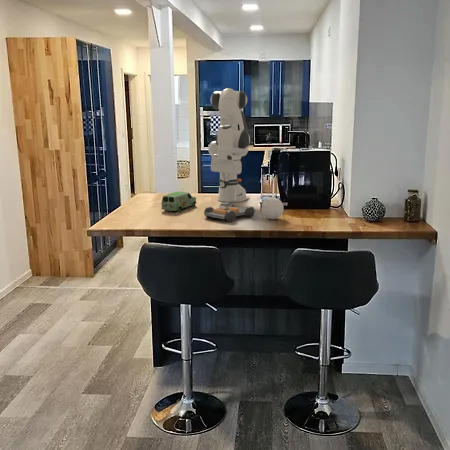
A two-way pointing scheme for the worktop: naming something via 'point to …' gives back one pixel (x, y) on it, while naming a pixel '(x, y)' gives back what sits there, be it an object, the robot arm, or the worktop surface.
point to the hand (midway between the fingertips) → (225, 181)
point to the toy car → (177, 201)
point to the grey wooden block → (225, 206)
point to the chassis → (229, 213)
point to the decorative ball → (272, 208)
